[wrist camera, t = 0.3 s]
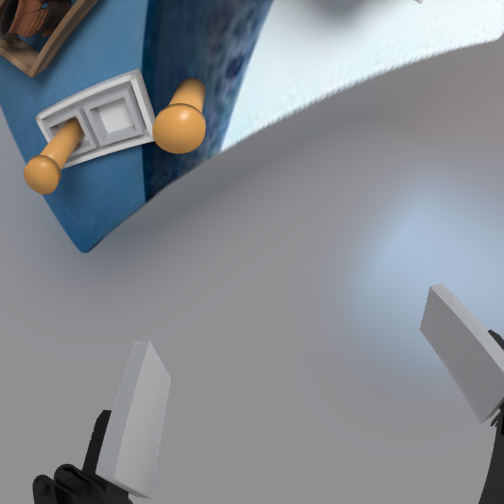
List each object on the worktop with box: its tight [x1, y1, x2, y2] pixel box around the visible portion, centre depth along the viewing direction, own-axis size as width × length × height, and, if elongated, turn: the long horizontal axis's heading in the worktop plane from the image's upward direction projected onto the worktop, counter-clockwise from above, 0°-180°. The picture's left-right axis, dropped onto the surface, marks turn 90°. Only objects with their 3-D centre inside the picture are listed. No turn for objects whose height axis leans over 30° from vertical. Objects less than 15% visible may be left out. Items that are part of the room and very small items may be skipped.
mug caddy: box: [0, 0, 99, 78], centre depth 13 cm, size 14×16×4 cm
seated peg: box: [24, 118, 85, 194], centre depth 29 cm, size 5×5×12 cm
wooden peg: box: [152, 78, 206, 154], centre depth 28 cm, size 5×5×12 cm
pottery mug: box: [0, 0, 71, 43], centre depth 13 cm, size 12×10×8 cm
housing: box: [35, 68, 156, 169], centre depth 31 cm, size 18×11×3 cm, turn 96°
